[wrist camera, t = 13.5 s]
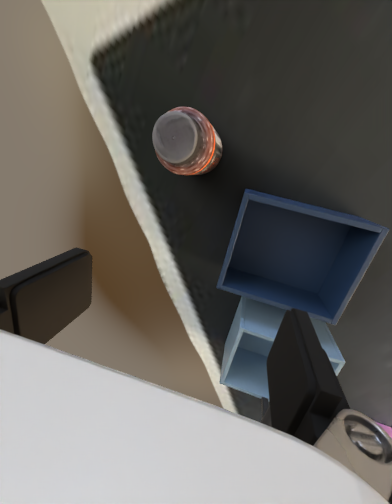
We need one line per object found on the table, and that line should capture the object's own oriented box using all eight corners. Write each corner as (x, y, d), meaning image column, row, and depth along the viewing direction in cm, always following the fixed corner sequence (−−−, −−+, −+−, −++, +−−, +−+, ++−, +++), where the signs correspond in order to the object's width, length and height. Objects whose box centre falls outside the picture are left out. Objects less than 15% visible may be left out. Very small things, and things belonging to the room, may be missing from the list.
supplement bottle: (196, 184, 31) (169, 190, 20) (169, 147, 30) (126, 133, 20) (232, 154, 29) (223, 143, 18) (204, 113, 28) (177, 77, 17)
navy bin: (359, 216, 28) (390, 229, 22) (319, 296, 32) (335, 325, 26) (245, 188, 30) (244, 192, 23) (222, 267, 34) (216, 288, 28)
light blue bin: (324, 319, 33) (362, 396, 22) (298, 367, 36) (320, 454, 25) (242, 294, 34) (238, 353, 23) (225, 342, 38) (215, 413, 27)
